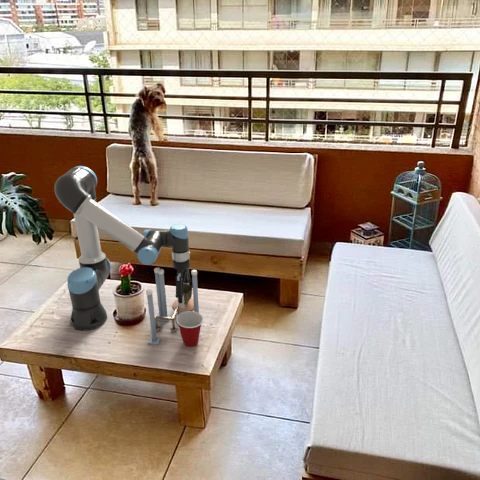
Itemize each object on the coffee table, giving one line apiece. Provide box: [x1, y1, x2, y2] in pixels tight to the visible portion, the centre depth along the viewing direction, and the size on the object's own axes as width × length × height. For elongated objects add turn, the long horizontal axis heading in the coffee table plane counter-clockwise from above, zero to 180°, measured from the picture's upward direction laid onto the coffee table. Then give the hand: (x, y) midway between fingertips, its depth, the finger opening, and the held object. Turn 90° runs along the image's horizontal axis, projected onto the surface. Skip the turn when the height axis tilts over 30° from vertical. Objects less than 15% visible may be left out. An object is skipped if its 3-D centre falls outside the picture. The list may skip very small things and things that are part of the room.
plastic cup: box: [175, 310, 204, 347], centre depth 178 cm, size 11×11×12 cm
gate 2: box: [153, 267, 200, 316], centre depth 191 cm, size 4×20×24 cm, turn 83°
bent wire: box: [155, 306, 181, 333], centre depth 191 cm, size 10×12×6 cm
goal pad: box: [172, 298, 194, 313], centre depth 205 cm, size 11×11×1 cm
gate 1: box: [145, 268, 172, 346], centre depth 184 cm, size 4×20×24 cm, turn 173°
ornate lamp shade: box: [183, 284, 193, 304], centre depth 205 cm, size 8×7×8 cm
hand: (184, 301), depth 204 cm, fingers open, 10 cm apart
